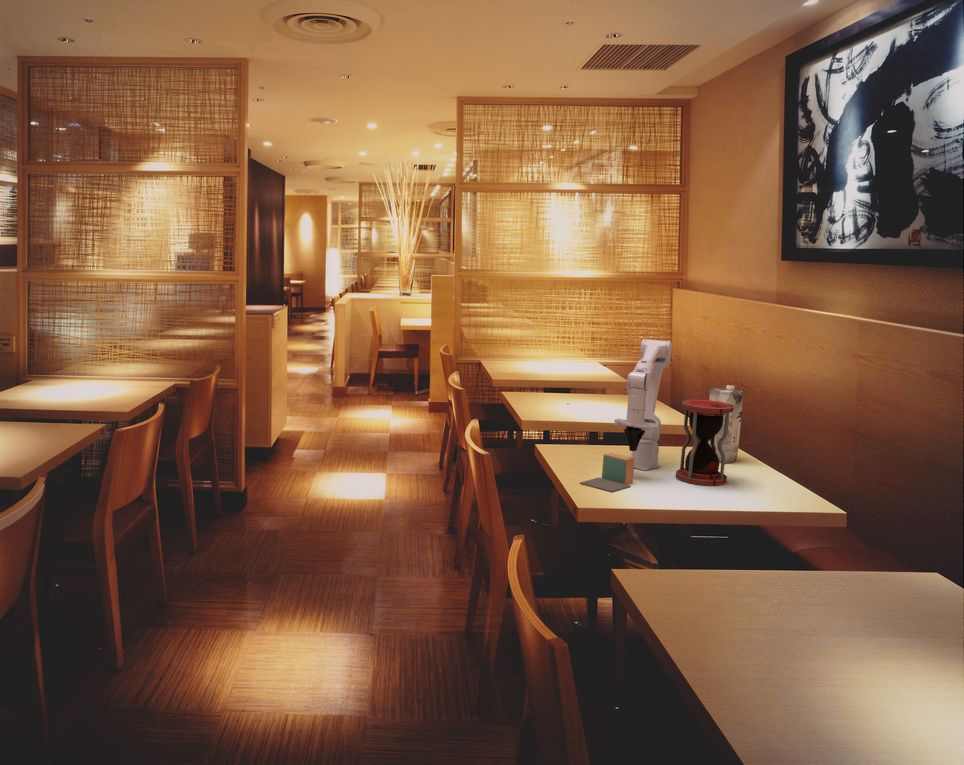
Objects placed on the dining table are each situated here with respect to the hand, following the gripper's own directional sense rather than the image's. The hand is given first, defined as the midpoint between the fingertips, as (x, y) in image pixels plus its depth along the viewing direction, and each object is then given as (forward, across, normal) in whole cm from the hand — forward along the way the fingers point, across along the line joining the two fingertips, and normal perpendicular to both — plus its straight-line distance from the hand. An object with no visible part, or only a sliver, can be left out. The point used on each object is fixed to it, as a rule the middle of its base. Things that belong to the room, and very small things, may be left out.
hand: (633, 450), depth 272 cm
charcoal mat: (+9, +1, -16) cm, 18 cm away
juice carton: (+9, +7, +47) cm, 48 cm away
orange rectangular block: (+9, 0, -8) cm, 12 cm away
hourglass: (+9, +16, +16) cm, 24 cm away
